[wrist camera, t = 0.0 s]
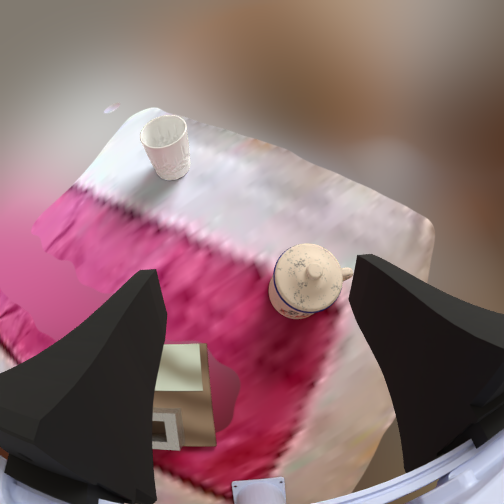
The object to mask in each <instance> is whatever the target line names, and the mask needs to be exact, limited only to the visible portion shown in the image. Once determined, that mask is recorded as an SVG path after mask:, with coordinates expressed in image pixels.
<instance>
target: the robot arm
mask: <svg viewBox="0 0 504 504" xmlns="http://www.w3.org/2000/svg"><path fill="white" fill-rule="evenodd" d="M349 302H350V305H351V308H352V311H353V313H354V316H355V319H356V321H357V323H358V325H359V327H360V329H361V331H362V333H363V335H364V337H365V339H366V341H367V343H368V344H369V346H370V348H371V350H372V352H373V354H374V356H375V358H376V360H377V362H378V364H379V366H380V368H381V370H382V373H383V375H384V378H385V381H386V384H387V387H388V390H389V393H390V396H391V399H392V403H393V406H394V410H395V414H396V418H397V422H398V427H399V432H400V437H401V444H402V451H403V460H404V469H405V471H406V474H404V475H402V476H399V477H397V478H394V479H392V480H389V481H387V482H384V483H382V484H379V485H376V486H373V487H370V488H367V489H364V490H361V491H358V492H355V493H352V494H348V495H345V496H341V497H338V498H334V499H330V500H326V501H321V502H317V503H312V504H386V503H389V502H392V501H394V500H396V499H398V498H401V497H403V496H405V495H408V494H410V493H412V492H414V491H416V490H418V489H420V488H422V487H424V486H426V485H428V484H430V483H432V482H434V481H436V480H437V479H439V478H440V479H439V481H438V482H437V486H436V487H435V489H433V490H431V491H429V492H427V493H425V494H423V495H421V496H419V497H417V498H415V499H413V500H411V501H409V502H407V503H405V504H504V314H500V313H496V312H493V311H490V310H487V309H484V308H481V307H478V306H475V305H472V304H470V303H467V302H465V301H462V300H460V299H458V298H456V297H453V296H451V295H449V294H446V293H445V292H443V291H440V290H439V289H437V288H435V287H433V286H431V285H429V284H427V283H425V282H423V281H422V280H420V279H418V278H416V277H414V276H413V275H411V274H409V273H407V272H406V271H404V270H402V269H400V268H398V267H397V266H395V265H393V264H391V263H389V262H388V261H386V260H384V259H382V258H380V257H377V256H375V255H373V254H366V255H357V260H356V265H355V270H354V275H353V280H352V285H351V290H350V295H349ZM166 324H167V311H166V308H165V304H164V300H163V296H162V292H161V288H160V284H159V280H158V275H157V271H156V269H151V270H140V271H138V272H137V273H136V274H135V275H134V276H132V277H131V278H130V279H129V280H128V281H127V282H126V283H125V284H124V285H123V286H122V287H121V288H120V289H119V290H118V291H117V292H116V293H115V294H113V295H112V296H111V297H110V298H109V299H108V300H107V301H106V302H105V303H104V304H103V305H102V306H101V307H100V308H98V309H97V310H96V311H95V312H94V313H93V314H92V315H91V316H89V318H87V319H86V320H85V321H84V322H83V323H81V324H80V325H79V326H78V327H76V328H75V329H74V330H72V331H71V332H70V333H69V334H67V335H66V336H65V337H63V338H62V339H61V340H59V341H57V342H56V343H54V344H53V345H51V346H50V347H48V348H47V349H45V350H44V351H42V352H41V353H39V354H37V355H36V356H34V357H32V358H30V359H29V360H27V361H25V362H23V363H21V364H19V365H17V366H15V367H13V368H11V369H9V370H7V371H5V372H2V373H0V447H1V448H3V449H4V450H5V451H7V452H8V453H9V456H8V460H6V459H5V458H3V457H1V456H0V504H124V503H128V504H153V503H154V502H155V501H157V496H156V489H155V480H154V470H153V451H152V419H153V400H154V392H155V386H156V381H157V376H158V371H159V366H160V361H161V356H162V351H163V347H164V342H165V335H166ZM280 481H282V483H280ZM234 486H237V487H234ZM232 490H233V497H234V503H235V504H286V496H285V483H284V478H283V477H275V478H267V479H257V480H245V481H233V482H232Z"/></svg>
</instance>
